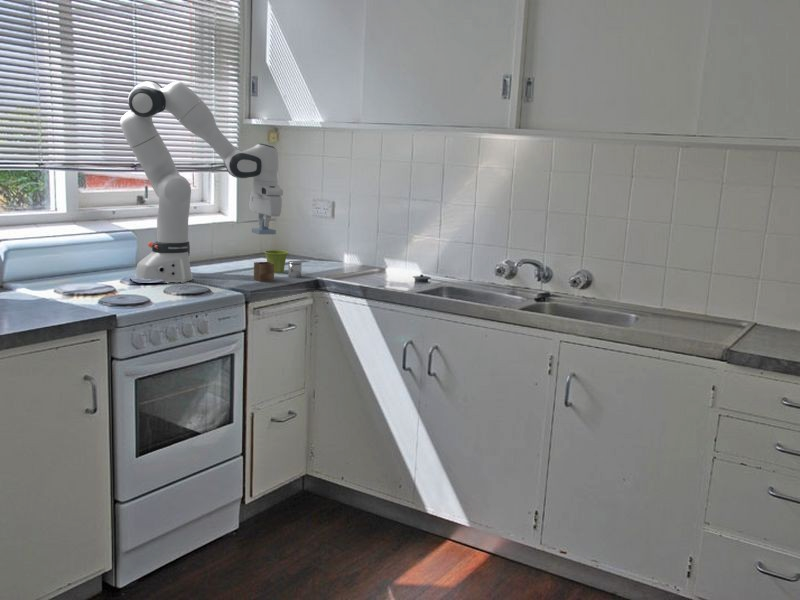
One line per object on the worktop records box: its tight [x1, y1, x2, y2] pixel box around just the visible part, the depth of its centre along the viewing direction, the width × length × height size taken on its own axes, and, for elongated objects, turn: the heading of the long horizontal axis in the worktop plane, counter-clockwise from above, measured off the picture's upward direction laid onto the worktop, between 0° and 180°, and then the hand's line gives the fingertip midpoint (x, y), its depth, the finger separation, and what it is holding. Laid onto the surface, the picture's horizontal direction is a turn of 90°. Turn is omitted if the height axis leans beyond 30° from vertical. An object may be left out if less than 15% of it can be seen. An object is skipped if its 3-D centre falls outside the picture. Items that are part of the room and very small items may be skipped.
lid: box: [251, 219, 277, 235], centre depth 314 cm, size 7×7×5 cm
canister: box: [253, 261, 275, 283], centre depth 317 cm, size 6×6×7 cm
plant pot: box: [263, 249, 289, 274], centre depth 337 cm, size 9×9×9 cm
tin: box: [287, 260, 303, 279], centre depth 328 cm, size 5×5×6 cm
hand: (263, 226), depth 314 cm, fingers closed on lid, 2 cm apart
